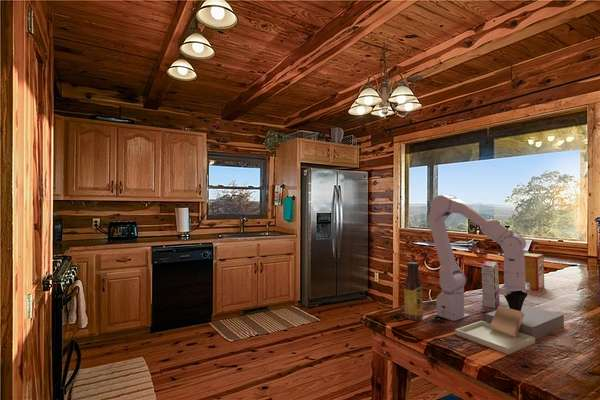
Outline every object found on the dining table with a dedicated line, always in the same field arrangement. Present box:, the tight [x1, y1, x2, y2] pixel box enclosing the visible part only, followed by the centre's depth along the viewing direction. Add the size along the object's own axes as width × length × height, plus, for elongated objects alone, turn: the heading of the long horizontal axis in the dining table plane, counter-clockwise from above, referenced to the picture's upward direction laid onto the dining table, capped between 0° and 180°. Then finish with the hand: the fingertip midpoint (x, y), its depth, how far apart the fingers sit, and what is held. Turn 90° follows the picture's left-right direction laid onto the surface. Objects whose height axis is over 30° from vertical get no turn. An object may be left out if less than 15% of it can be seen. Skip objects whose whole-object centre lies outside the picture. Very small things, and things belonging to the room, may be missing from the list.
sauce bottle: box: [403, 261, 424, 321], centre depth 117 cm, size 6×6×20 cm
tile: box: [490, 305, 524, 338], centre depth 101 cm, size 8×7×2 cm
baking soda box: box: [524, 252, 545, 292], centre depth 153 cm, size 10×6×16 cm
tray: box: [454, 320, 536, 355], centre depth 98 cm, size 14×16×2 cm
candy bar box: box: [480, 260, 500, 309], centre depth 131 cm, size 11×5×16 cm, turn 143°
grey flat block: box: [485, 304, 565, 341], centre depth 107 cm, size 20×14×4 cm
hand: (515, 314), depth 105 cm, fingers closed
